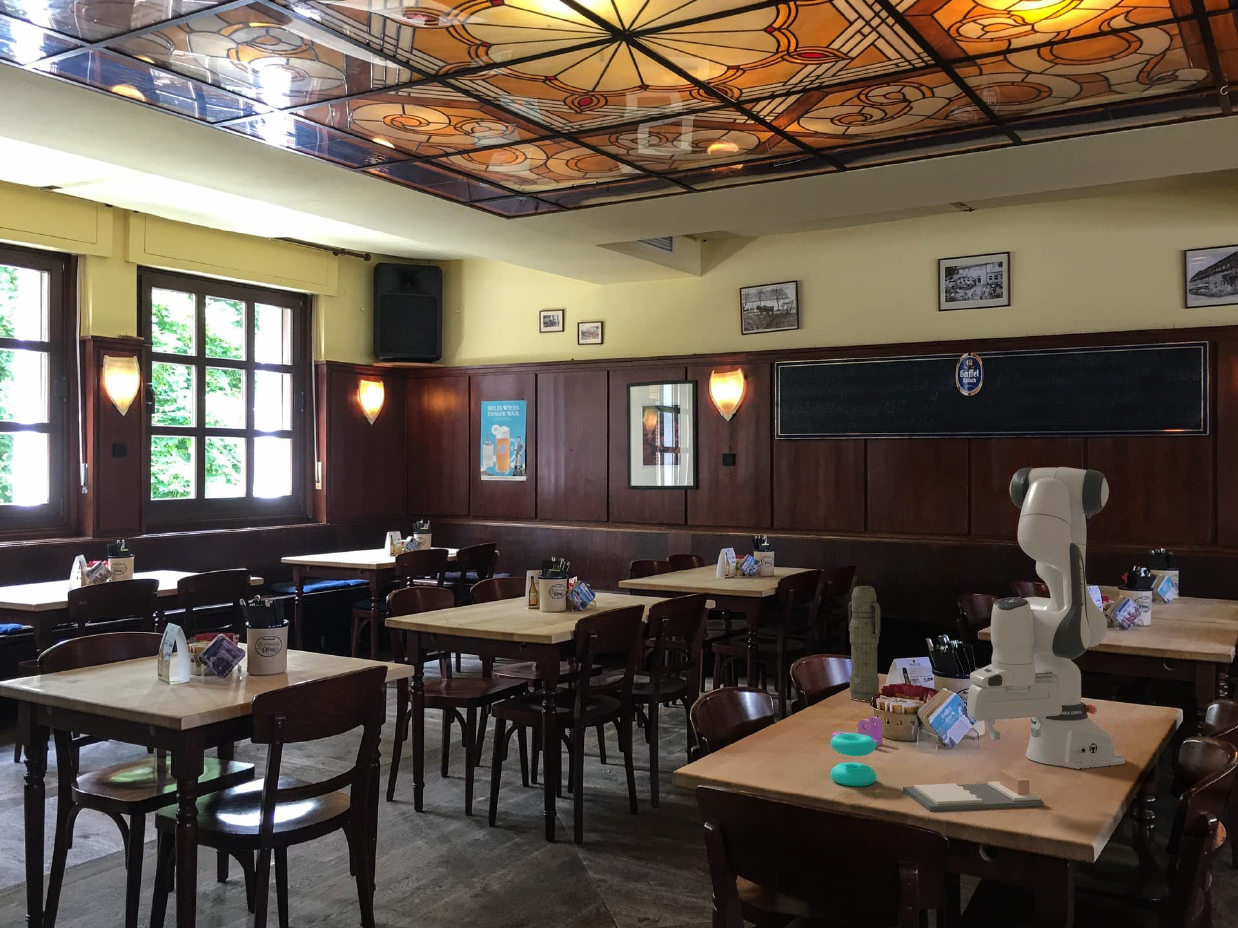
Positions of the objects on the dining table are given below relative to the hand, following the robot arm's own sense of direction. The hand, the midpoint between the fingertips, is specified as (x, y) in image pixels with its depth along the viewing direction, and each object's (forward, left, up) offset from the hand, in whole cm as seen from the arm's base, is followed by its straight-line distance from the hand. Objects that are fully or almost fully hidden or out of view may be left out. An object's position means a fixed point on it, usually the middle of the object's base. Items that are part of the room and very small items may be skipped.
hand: (1015, 738), depth 230 cm
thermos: (-4, -103, -13) cm, 103 cm away
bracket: (+17, -51, -13) cm, 55 cm away
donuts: (+31, -16, -13) cm, 37 cm away
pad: (+11, 0, -13) cm, 16 cm away
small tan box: (+1, 0, -11) cm, 11 cm away
